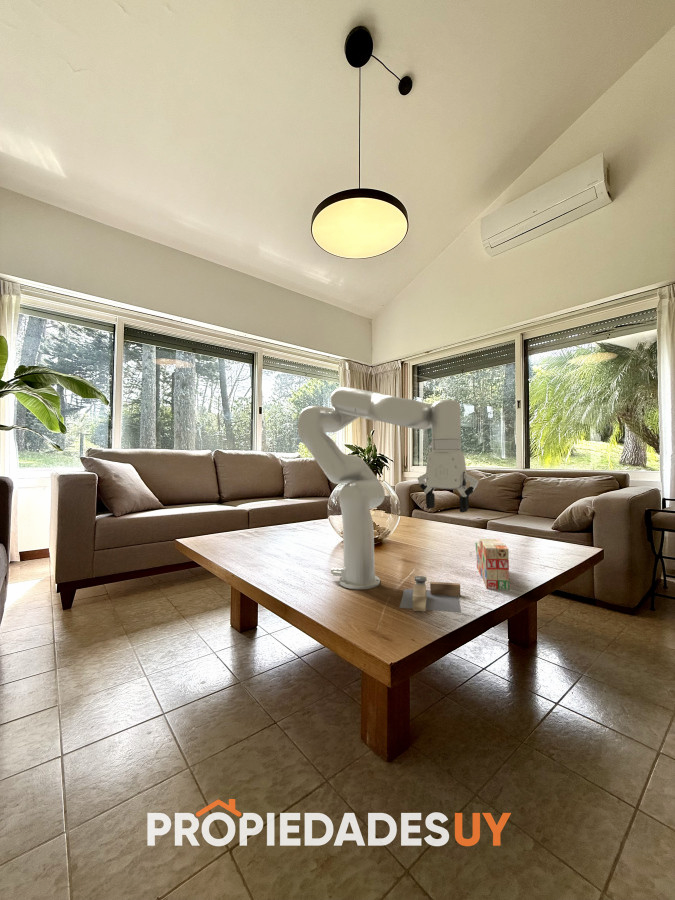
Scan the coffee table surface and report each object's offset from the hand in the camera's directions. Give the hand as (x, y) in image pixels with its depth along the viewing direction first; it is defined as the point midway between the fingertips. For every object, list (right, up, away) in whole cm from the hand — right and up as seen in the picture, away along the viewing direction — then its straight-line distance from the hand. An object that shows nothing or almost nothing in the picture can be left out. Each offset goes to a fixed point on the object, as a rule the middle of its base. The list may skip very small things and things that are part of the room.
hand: (446, 509), depth 101 cm
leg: (-8, -24, -4) cm, 26 cm away
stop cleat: (+1, -24, +3) cm, 24 cm away
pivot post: (-6, -24, +2) cm, 25 cm away
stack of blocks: (+19, -25, +16) cm, 35 cm away
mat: (-5, -24, 0) cm, 25 cm away
